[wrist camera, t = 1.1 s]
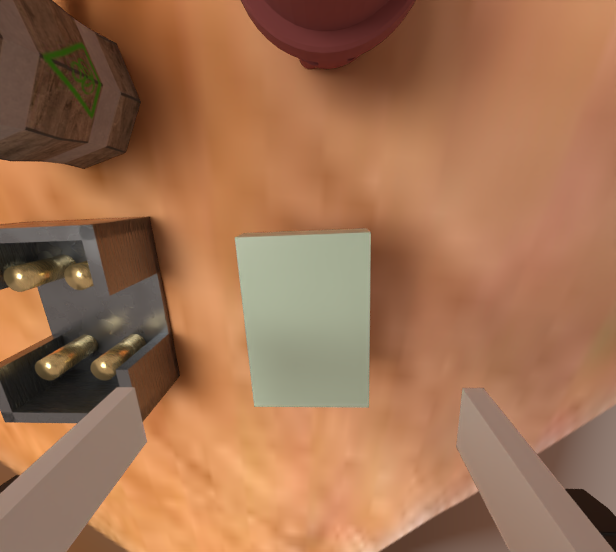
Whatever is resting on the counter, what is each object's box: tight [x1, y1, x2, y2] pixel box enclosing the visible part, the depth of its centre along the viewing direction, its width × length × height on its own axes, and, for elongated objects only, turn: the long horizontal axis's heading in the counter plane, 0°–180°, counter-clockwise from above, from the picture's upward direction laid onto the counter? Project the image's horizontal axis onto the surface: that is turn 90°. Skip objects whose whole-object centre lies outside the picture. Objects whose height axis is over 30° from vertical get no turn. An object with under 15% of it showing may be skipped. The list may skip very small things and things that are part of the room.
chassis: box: [0, 217, 180, 423], centre depth 25 cm, size 16×12×6 cm
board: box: [235, 228, 371, 407], centre depth 20 cm, size 12×8×2 cm, turn 3°
